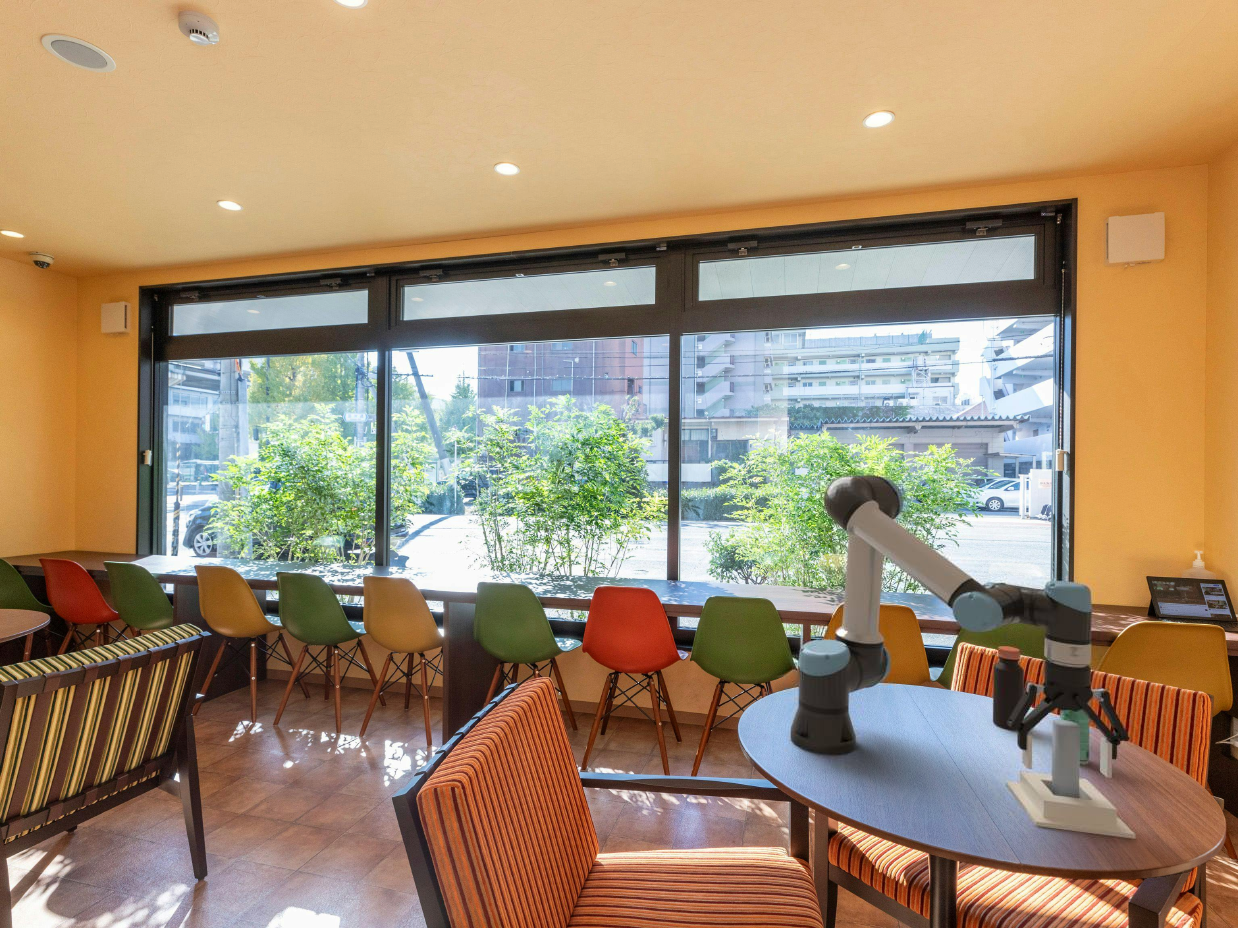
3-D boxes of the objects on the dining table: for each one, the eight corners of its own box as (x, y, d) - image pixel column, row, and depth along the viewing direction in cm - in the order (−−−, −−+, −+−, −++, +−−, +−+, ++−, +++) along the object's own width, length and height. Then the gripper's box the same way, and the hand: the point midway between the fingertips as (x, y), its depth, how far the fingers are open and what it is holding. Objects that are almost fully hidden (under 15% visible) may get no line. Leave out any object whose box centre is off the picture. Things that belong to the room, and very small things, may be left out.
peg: (1057, 809, 124) (1058, 726, 124) (1047, 798, 128) (1048, 718, 128) (1083, 813, 123) (1084, 729, 123) (1072, 801, 127) (1073, 720, 127)
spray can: (1083, 755, 150) (1085, 670, 150) (1092, 766, 144) (1093, 677, 144) (1056, 752, 151) (1057, 667, 151) (1064, 762, 146) (1065, 674, 146)
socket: (1035, 825, 119) (1036, 804, 119) (1005, 784, 135) (1005, 765, 135) (1135, 838, 116) (1135, 816, 116) (1092, 795, 131) (1092, 775, 131)
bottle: (1023, 723, 168) (1024, 647, 168) (1023, 732, 162) (1024, 653, 163) (993, 718, 172) (994, 643, 172) (992, 726, 166) (993, 649, 166)
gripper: (1003, 661, 125) (1001, 770, 125) (1152, 673, 119) (1151, 787, 119) (990, 651, 132) (989, 754, 132) (1130, 661, 126) (1129, 769, 126)
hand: (1065, 770), depth 125 cm, fingers open, 13 cm apart
